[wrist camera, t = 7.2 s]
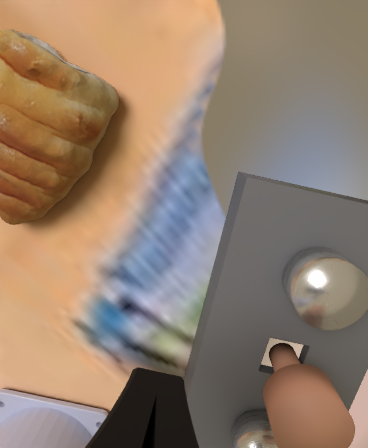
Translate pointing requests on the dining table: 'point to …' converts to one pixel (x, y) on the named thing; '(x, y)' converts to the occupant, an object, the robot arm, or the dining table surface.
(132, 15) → the dining table surface
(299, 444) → the middle knob
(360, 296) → the near knob
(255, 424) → the far knob
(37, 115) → the pastry
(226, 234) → the knob panel
